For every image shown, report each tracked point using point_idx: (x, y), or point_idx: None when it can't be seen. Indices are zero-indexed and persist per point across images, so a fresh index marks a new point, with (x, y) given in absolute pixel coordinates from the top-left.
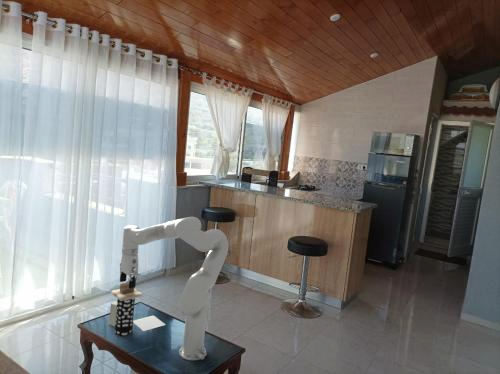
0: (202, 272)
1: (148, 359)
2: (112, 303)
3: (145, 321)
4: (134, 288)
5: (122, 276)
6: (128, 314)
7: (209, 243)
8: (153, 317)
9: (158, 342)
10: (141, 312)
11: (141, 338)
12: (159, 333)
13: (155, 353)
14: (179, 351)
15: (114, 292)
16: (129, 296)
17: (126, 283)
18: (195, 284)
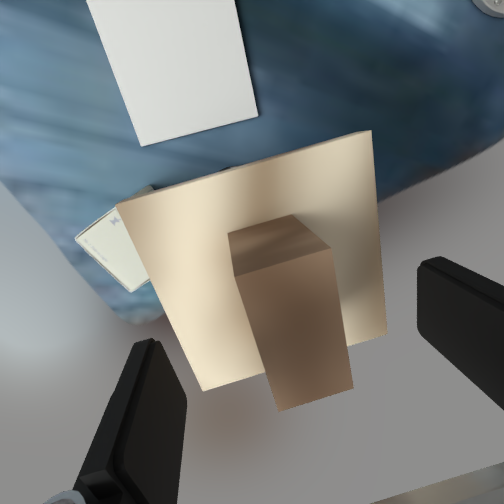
0: None
1: (445, 153)
2: (136, 284)
3: (160, 74)
4: (184, 185)
5: (167, 469)
6: None
7: None
8: (115, 5)
9: (363, 74)
10: (22, 58)
11: (304, 139)
12: (293, 38)
13: (427, 116)
14: (495, 8)
15: (248, 371)
16: (378, 272)
17: (287, 350)
18: None
